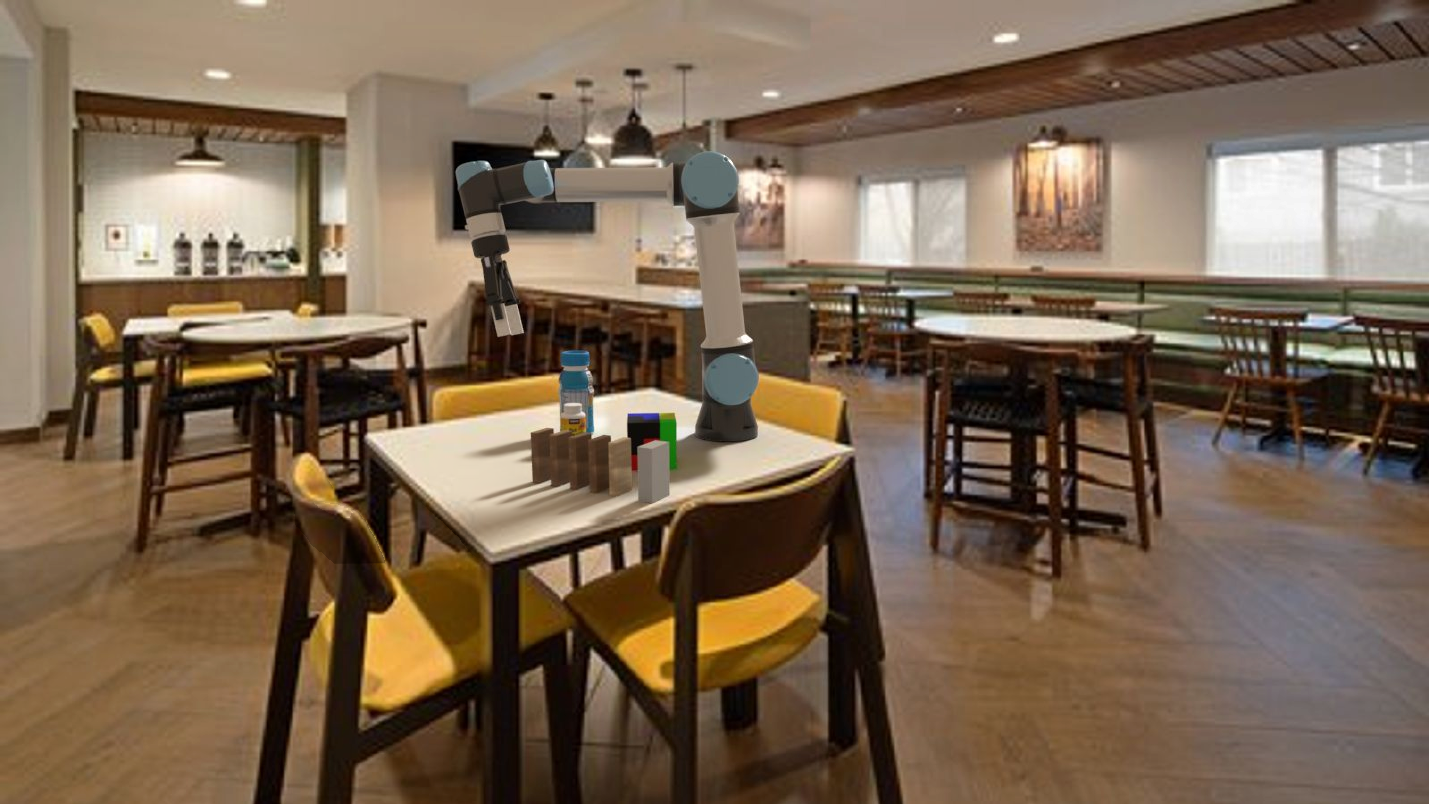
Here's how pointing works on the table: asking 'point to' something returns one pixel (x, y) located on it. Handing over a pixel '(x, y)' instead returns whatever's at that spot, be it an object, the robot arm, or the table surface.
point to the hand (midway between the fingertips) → (511, 334)
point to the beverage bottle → (577, 384)
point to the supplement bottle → (573, 418)
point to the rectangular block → (653, 471)
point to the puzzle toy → (652, 434)
